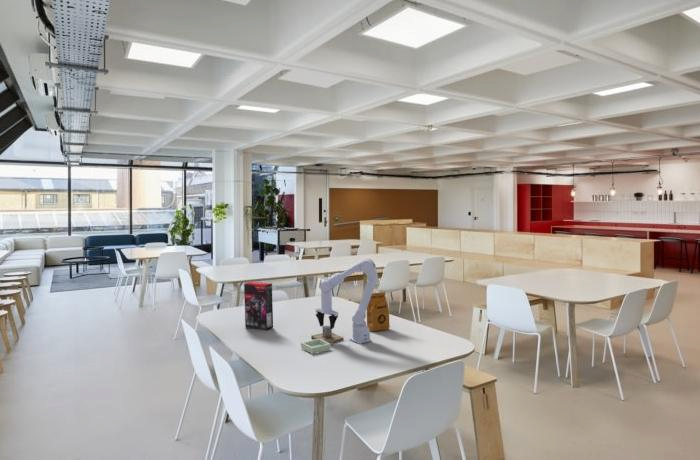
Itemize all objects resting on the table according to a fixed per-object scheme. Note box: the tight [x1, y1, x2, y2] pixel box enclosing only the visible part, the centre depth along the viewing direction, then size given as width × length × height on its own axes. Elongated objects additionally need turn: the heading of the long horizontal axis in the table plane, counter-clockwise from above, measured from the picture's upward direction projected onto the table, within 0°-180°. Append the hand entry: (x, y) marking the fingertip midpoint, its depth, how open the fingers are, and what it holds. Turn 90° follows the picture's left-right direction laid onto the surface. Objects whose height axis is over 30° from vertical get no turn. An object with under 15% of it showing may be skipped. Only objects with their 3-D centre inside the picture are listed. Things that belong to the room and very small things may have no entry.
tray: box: [300, 339, 332, 355], centre depth 219 cm, size 11×11×3 cm
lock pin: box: [322, 325, 333, 338], centre depth 235 cm, size 4×4×7 cm
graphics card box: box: [243, 281, 274, 331], centre depth 258 cm, size 17×7×27 cm, turn 62°
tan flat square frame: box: [310, 332, 344, 344], centre depth 235 cm, size 14×12×2 cm
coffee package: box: [366, 291, 391, 332], centre depth 251 cm, size 10×12×22 cm
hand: (326, 327), depth 235 cm, fingers open, 7 cm apart
